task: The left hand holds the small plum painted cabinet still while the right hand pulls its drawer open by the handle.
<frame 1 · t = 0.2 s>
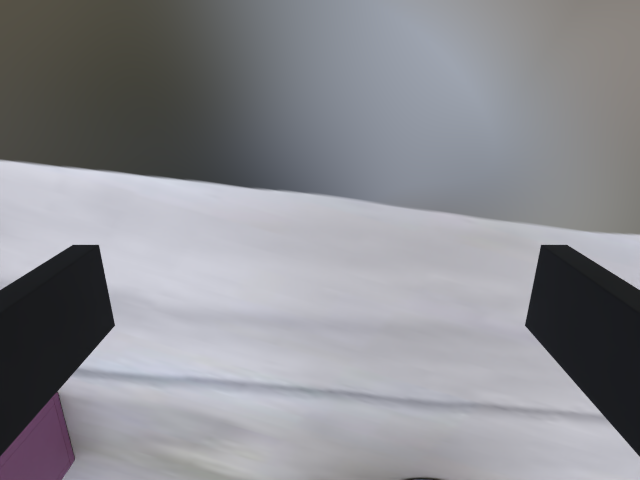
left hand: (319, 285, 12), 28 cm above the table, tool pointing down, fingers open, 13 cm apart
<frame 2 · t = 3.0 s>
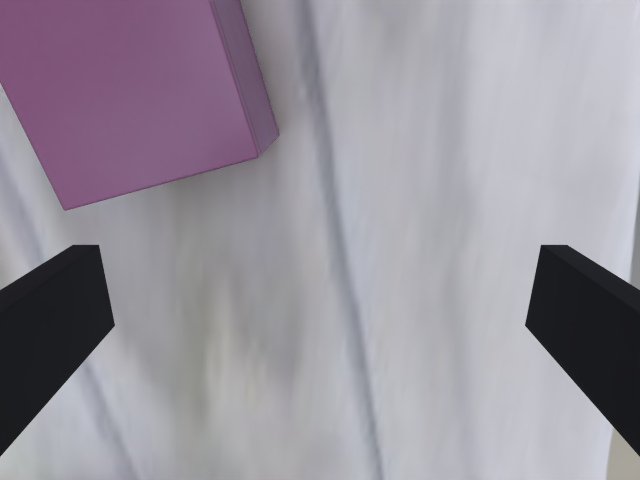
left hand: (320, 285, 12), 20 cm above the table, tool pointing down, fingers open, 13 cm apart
cabinet: (159, 0, 28), on the table
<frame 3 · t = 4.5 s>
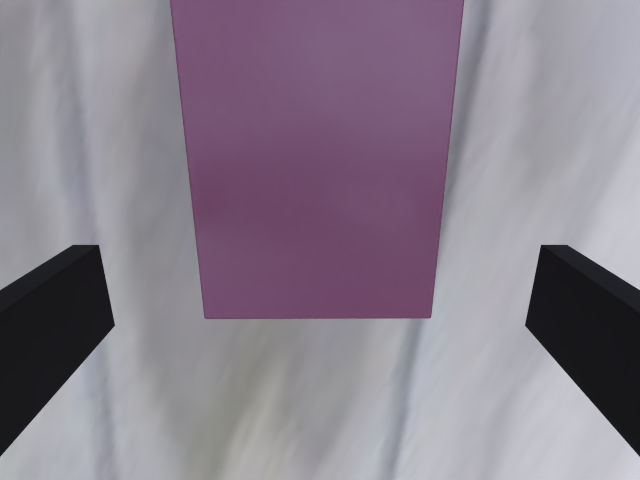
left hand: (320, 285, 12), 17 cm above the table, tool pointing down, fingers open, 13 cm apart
cabinet: (317, 81, 26), on the table
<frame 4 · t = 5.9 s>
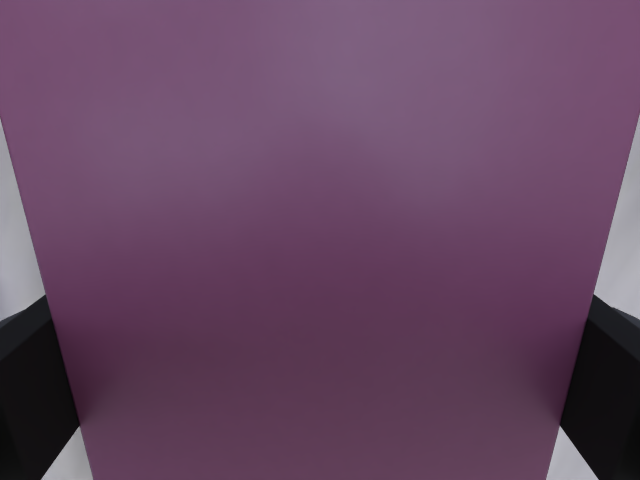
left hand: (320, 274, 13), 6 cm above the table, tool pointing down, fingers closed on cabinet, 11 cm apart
cabinet: (319, 69, 17), on the table, touching left hand
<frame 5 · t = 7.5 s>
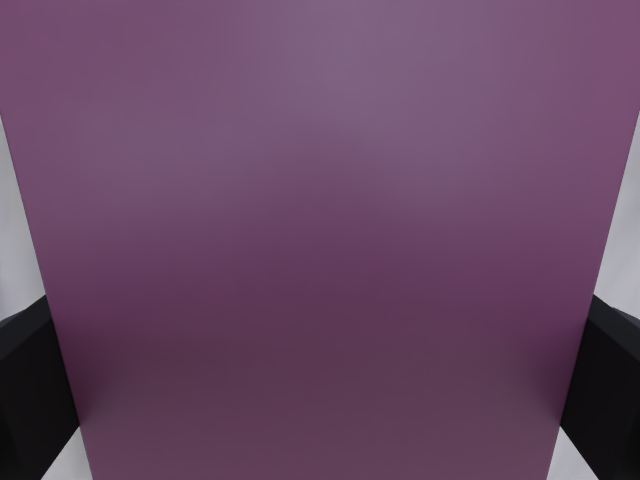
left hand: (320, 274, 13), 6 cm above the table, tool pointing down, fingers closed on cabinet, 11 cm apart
cabinet: (319, 70, 17), on the table, touching left hand
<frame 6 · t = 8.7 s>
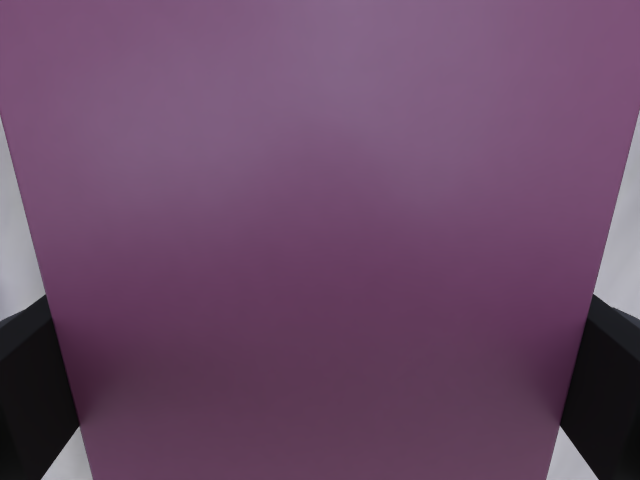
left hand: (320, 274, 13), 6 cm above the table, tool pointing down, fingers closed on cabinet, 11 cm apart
cabinet: (319, 70, 17), on the table, touching left hand
when the left hand's fingers open (6 cm above the table, at t = 10.4 s): cabinet stays where it is, on the table.
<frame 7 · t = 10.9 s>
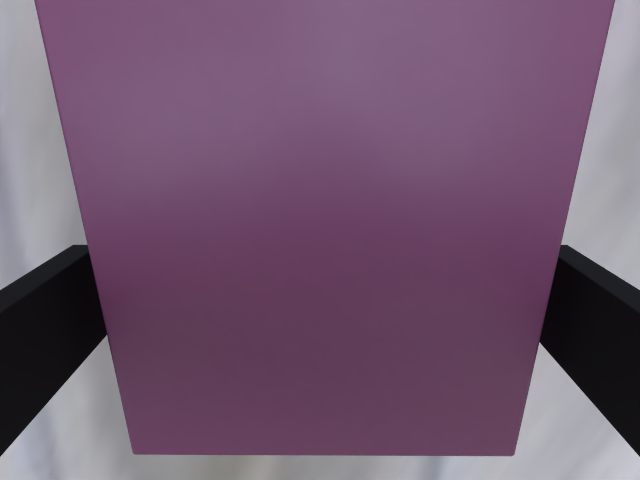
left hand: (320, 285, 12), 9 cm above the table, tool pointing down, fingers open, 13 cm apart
cabinet: (323, 60, 18), on the table
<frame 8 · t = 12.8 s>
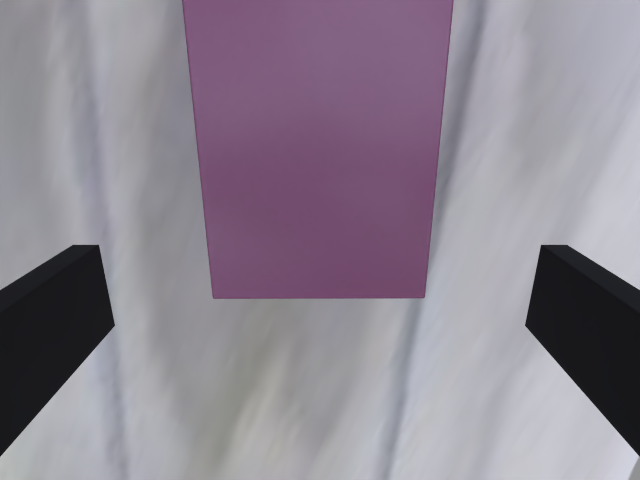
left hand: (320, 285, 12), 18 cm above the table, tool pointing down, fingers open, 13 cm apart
cabinet: (318, 76, 27), on the table
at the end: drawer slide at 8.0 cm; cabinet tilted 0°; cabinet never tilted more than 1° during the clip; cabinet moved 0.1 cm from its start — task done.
